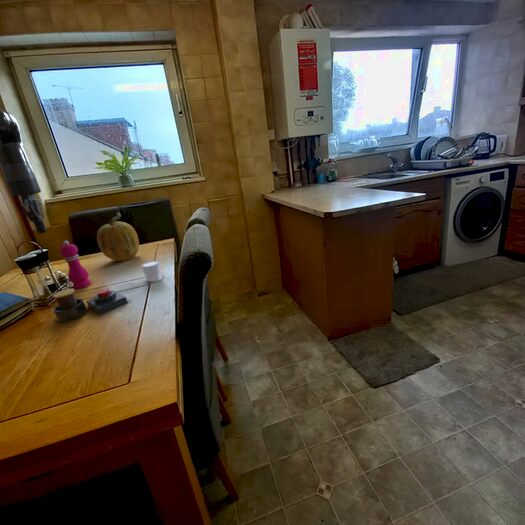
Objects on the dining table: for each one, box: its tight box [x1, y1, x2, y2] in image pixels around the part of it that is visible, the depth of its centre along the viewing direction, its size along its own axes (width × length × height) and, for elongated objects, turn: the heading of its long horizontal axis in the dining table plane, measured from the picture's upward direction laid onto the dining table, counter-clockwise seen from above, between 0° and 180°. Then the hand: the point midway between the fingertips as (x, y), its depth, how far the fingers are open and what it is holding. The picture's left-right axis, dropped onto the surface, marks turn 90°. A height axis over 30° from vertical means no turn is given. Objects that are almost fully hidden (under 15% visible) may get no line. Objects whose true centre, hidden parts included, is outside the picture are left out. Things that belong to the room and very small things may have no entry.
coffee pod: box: [52, 288, 78, 310], centre depth 91 cm, size 6×6×8 cm
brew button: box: [97, 288, 110, 298], centre depth 96 cm, size 4×4×2 cm
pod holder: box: [52, 298, 88, 323], centre depth 92 cm, size 8×8×4 cm
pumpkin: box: [96, 212, 140, 262], centre depth 145 cm, size 19×19×25 cm
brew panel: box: [86, 289, 129, 315], centre depth 97 cm, size 9×11×4 cm
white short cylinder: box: [141, 260, 162, 283], centre depth 114 cm, size 7×7×7 cm
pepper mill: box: [59, 240, 92, 290], centre depth 115 cm, size 7×7×20 cm
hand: (42, 232), depth 93 cm, fingers closed
